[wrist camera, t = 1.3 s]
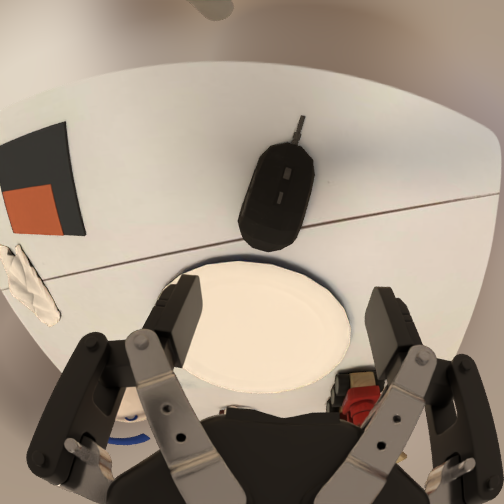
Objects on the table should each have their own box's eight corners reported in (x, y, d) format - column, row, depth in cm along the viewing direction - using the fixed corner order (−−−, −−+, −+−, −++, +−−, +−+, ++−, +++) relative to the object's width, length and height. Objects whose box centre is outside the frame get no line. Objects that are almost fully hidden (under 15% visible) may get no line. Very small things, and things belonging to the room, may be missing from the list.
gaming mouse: (334, 126, 23) (342, 130, 20) (287, 253, 31) (287, 273, 27) (270, 105, 23) (268, 106, 19) (233, 237, 31) (227, 256, 27)
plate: (232, 397, 50) (231, 404, 49) (122, 305, 39) (117, 312, 38) (373, 355, 39) (375, 363, 38) (285, 209, 28) (285, 216, 27)
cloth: (59, 334, 49) (54, 342, 47) (-1, 280, 43) (-7, 286, 41) (66, 285, 39) (59, 293, 37) (-5, 219, 34) (-13, 224, 32)
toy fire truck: (324, 406, 49) (325, 481, 34) (338, 367, 41) (345, 464, 26) (374, 402, 48) (382, 474, 33) (398, 362, 40) (418, 451, 25)
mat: (-5, 148, 26) (-8, 149, 26) (65, 121, 24) (62, 122, 24) (14, 231, 35) (12, 233, 34) (86, 234, 33) (84, 236, 32)
